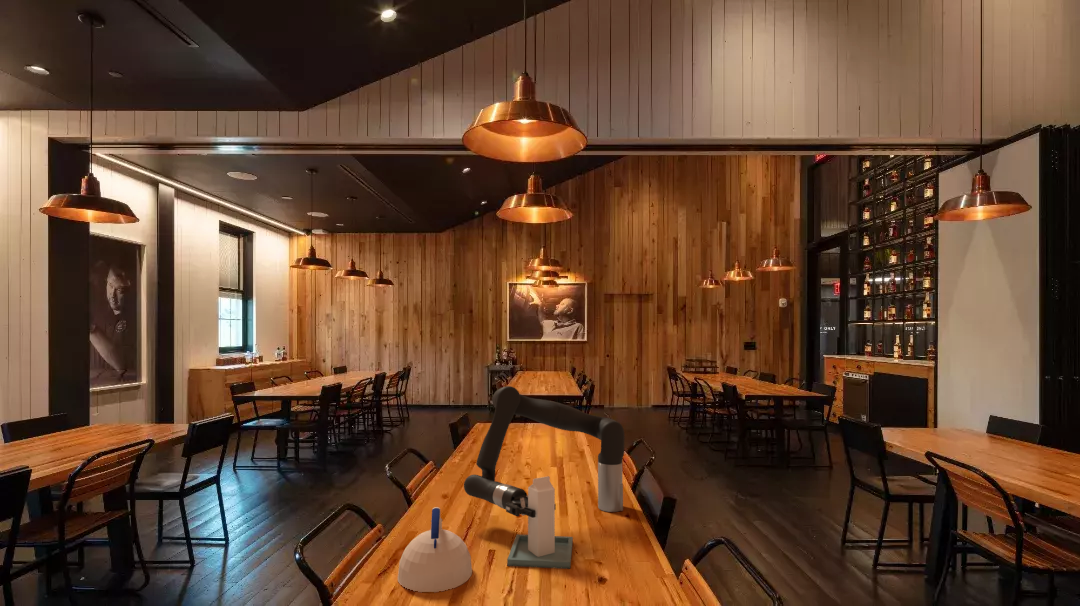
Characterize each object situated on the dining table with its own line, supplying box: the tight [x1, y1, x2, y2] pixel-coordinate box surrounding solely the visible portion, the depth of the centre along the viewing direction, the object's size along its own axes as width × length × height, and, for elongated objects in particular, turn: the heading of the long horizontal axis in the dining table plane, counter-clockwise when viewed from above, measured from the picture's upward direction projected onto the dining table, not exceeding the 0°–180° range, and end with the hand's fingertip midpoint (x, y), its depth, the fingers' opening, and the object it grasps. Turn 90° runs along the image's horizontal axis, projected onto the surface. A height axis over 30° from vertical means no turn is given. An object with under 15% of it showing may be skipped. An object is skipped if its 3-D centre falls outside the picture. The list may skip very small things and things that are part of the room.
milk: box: [527, 475, 556, 557], centre depth 156 cm, size 6×6×22 cm
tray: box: [506, 534, 574, 570], centre depth 155 cm, size 18×18×2 cm
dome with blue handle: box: [397, 506, 473, 593], centre depth 142 cm, size 20×21×18 cm
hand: (544, 510), depth 155 cm, fingers open, 8 cm apart
